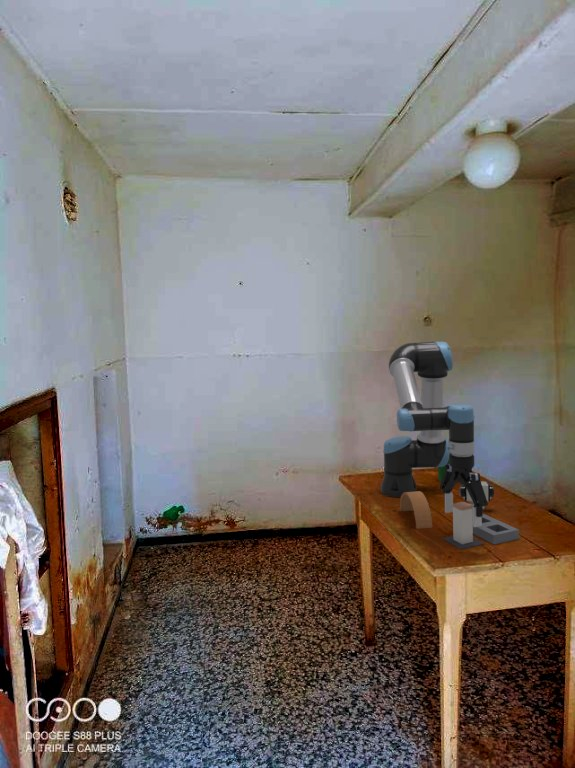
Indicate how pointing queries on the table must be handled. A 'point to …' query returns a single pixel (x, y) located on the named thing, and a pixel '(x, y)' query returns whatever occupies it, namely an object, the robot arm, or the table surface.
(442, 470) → the green tall piece
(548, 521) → the table surface
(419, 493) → the arch
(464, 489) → the pneumatic valve
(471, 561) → the table surface
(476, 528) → the grey boxy piece
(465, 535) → the plug
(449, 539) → the mat
